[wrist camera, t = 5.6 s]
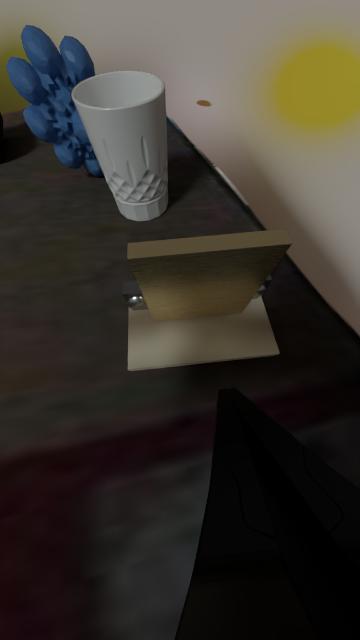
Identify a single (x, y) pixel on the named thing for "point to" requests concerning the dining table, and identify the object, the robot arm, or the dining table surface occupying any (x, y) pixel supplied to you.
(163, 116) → the white cup
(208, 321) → the birch board
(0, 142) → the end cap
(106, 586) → the dining table surface
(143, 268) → the tan notched block
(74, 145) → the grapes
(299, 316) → the dining table surface
